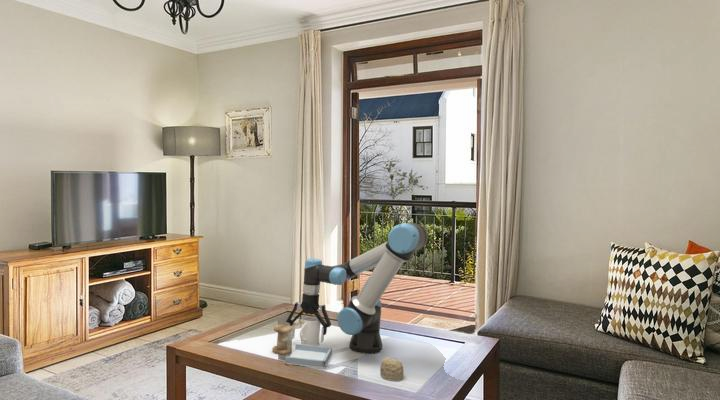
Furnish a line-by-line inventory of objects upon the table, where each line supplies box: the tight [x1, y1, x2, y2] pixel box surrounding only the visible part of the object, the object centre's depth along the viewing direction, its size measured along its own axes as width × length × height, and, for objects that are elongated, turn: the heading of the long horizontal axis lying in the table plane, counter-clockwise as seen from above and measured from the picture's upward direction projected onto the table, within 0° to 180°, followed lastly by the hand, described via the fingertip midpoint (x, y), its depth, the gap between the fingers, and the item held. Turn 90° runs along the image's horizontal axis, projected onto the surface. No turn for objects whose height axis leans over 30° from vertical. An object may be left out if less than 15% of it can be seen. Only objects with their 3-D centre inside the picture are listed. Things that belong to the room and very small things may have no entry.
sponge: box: [379, 356, 405, 382], centre depth 174 cm, size 9×10×10 cm
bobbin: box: [271, 324, 293, 355], centre depth 193 cm, size 8×8×10 cm
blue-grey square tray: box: [284, 343, 333, 370], centre depth 186 cm, size 16×17×3 cm
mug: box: [299, 316, 321, 346], centre depth 202 cm, size 12×8×12 cm
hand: (307, 340), depth 202 cm, fingers open, 13 cm apart
